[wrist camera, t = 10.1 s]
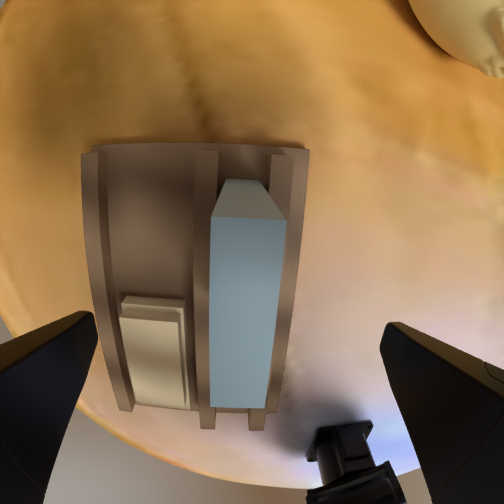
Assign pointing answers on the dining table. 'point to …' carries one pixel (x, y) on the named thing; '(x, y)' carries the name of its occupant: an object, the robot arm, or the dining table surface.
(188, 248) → the rack
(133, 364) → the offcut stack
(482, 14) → the sculpture
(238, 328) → the light blue block
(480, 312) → the dining table surface
